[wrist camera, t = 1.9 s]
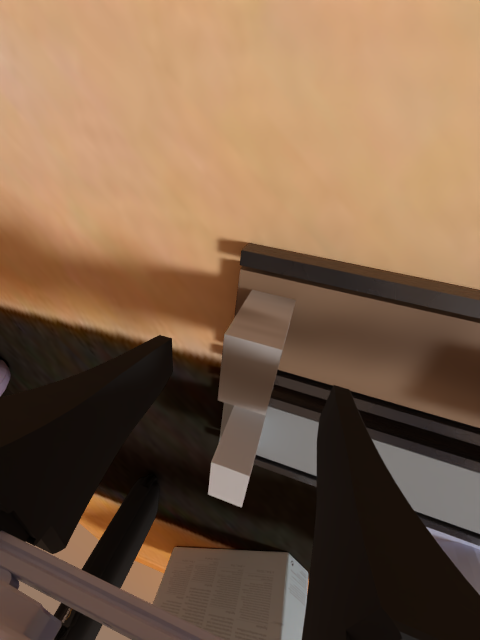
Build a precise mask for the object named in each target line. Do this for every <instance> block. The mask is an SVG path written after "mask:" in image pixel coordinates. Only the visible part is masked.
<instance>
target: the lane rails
mask: <svg viewBox="0 0 480 640" xmlns="http://www.w3.org/2000/svg"><path fill="white" fill-rule="evenodd" d="M240 265H241V266H246V267H250V268H255V269H259V270H264V271H268V272H273V273H277V274H282V275H286V276H291V277H295V278H300V279H304V280H309V281H313V282H318V283H322V284H327V285H331V286H336V287H340V288H345V289H349V290H354V291H358V292H363V293H367V294H372V295H376V296H381V297H385V298H390V299H394V300H399V301H403V302H408V303H412V304H417V305H421V306H426V307H430V308H435V309H439V310H444V311H448V312H453V313H457V314H462V315H466V316H471V317H475V318H480V290H476V289H471V288H466V287H462V286H457V285H452V284H447V283H442V282H437V281H432V280H427V279H422V278H418V277H413V276H408V275H403V274H398V273H393V272H388V271H383V270H379V269H374V268H369V267H364V266H359V265H354V264H349V263H344V262H339V261H335V260H330V259H325V258H320V257H315V256H310V255H305V254H300V253H296V252H291V251H286V250H281V249H276V248H271V247H266V246H261V245H256V244H252V243H248V244H247V245H246V246H245V247H244V248H243V249H242V251H241V259H240ZM332 387H333V385H329V384H326V383H322V382H319V381H315V380H312V379H309V378H305V377H302V376H298V375H295V374H291V373H288V372H284V371H281V370H277V374H276V378H275V382H274V385H273V389H272V393H271V397H270V400H269V404H268V406H271V407H274V408H277V409H280V410H284V411H287V412H290V413H293V414H296V415H299V416H303V417H306V418H309V419H312V420H315V421H318V422H319V418H320V415H321V413H322V411H323V408H324V406H325V404H326V401H327V399H328V397H329V394H330V392H331V390H332ZM350 392H351V394H352V396H353V399H354V401H355V404H356V406H357V408H358V411H359V413H360V415H361V418H362V420H363V422H364V424H365V426H366V428H367V430H368V433H369V435H370V437H371V438H372V439H375V440H378V441H382V442H385V443H388V444H391V445H394V446H397V447H401V448H404V449H407V450H410V451H413V452H416V453H420V454H423V455H426V456H429V457H432V458H435V459H438V460H442V461H445V462H448V463H451V464H454V465H457V466H461V467H464V468H467V469H470V470H473V471H476V472H480V428H478V427H475V426H471V425H468V424H464V423H461V422H457V421H454V420H450V419H447V418H443V417H440V416H436V415H433V414H430V413H426V412H423V411H419V410H416V409H412V408H409V407H405V406H402V405H398V404H395V403H392V402H388V401H385V400H381V399H378V398H374V397H371V396H367V395H364V394H360V393H357V392H353V391H350ZM253 464H254V465H257V466H260V467H262V468H265V469H268V470H271V471H273V472H276V473H279V474H282V475H284V476H287V477H290V478H293V479H295V480H298V481H301V482H304V483H307V484H309V485H312V486H315V487H317V476H315V475H312V474H309V473H306V472H303V471H300V470H298V469H295V468H292V467H289V466H286V465H284V464H281V463H278V462H275V461H272V460H269V459H267V458H264V457H261V456H258V455H256V456H255V459H254V463H253ZM415 513H416V514H417V515H418V517H419V518H420V520H421V521H422V522H423V524H424V525H425V526H426V527H428V528H431V529H434V530H437V531H439V532H442V533H445V534H448V535H450V536H453V537H456V538H459V539H461V540H464V541H467V542H470V543H473V544H475V545H478V546H480V534H478V533H476V532H473V531H470V530H467V529H464V528H461V527H459V526H456V525H453V524H450V523H447V522H445V521H442V520H439V519H436V518H433V517H430V516H428V515H425V514H422V513H419V512H416V511H415Z"/></svg>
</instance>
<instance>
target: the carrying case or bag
mask: <svg viewBox="0 0 480 640" xmlns="http://www.w3.org/2000/svg"><path fill="white" fill-rule="evenodd" d="M158 499H159V485H158V483H157V478H156V477H155V476H154V475H148V476H147V477H142V478H140V479H138V481H137V482H136V483H135V484H134V486H133V487H132V489H131V490H130V492H129V493H128V495H127V497H126V498H125V500H124V501H123V503H122V505H121V506H120V508H119V509H118V511H117V513H116V514H115V516H114V518H113V519H112V521H111V522H110V524H109V526H108V527H107V529H106V530H105V532H104V534H103V535H102V537H101V539H100V540H99V542H98V544H97V545H96V547H95V548H94V550H93V552H92V554H91V555H90V557H89V558H88V560H87V561H86V563H85V565H84V566H83V568H82V570H83V571H85V572H87V573H89V574H91V575H93V576H95V577H97V578H99V579H101V580H103V581H106V582H108V583H110V584H112V585H114V586H116V587H118V588H121V586H122V584H123V582H124V580H125V578H126V576H127V574H128V572H129V570H130V568H131V566H132V564H133V562H134V560H135V558H136V556H137V554H138V552H139V550H140V548H141V546H142V544H143V542H144V540H145V538H146V536H147V534H148V532H149V530H150V528H151V526H152V524H153V521H154V519H155V517H156V514H157V509H158ZM54 617H56V618H57V619H59V620H60V621H61V622H62V626H61V628H60V630H59V631H58V633H57V635H56V637H55V638H54V640H95V638H96V636H97V634H98V632H99V630H100V628H101V626H102V624H101V623H99V622H97V621H95V620H93V619H92V618H90V617H88V616H86V615H84V614H82V613H80V612H78V611H76V610H74V609H73V608H71V607H69V606H67V605H65V604H63V603H61V604H60V606H59V608H58V609H57V611H56V613H55V614H54Z"/></svg>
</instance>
